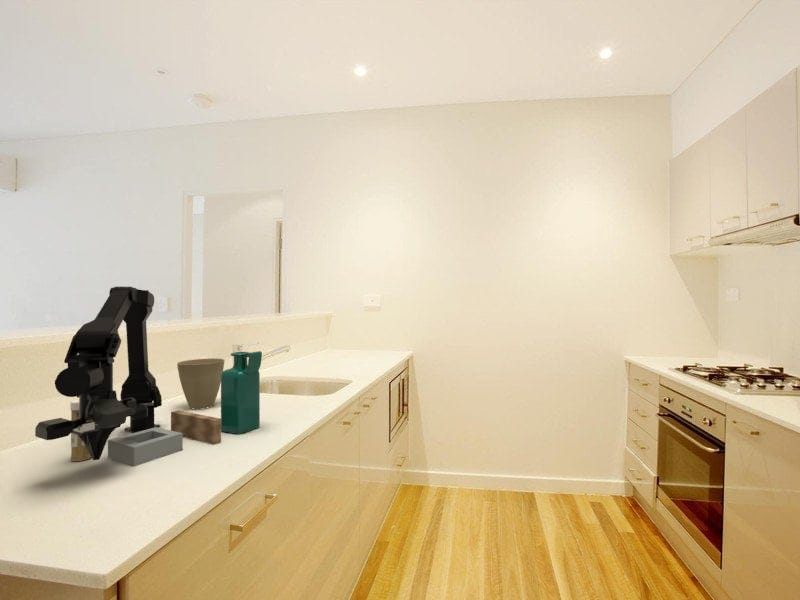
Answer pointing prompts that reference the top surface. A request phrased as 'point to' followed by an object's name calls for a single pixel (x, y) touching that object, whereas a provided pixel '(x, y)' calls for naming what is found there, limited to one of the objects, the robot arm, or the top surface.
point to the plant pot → (200, 381)
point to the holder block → (145, 445)
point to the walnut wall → (196, 426)
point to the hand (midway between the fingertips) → (96, 459)
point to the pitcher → (241, 394)
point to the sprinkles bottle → (77, 438)
